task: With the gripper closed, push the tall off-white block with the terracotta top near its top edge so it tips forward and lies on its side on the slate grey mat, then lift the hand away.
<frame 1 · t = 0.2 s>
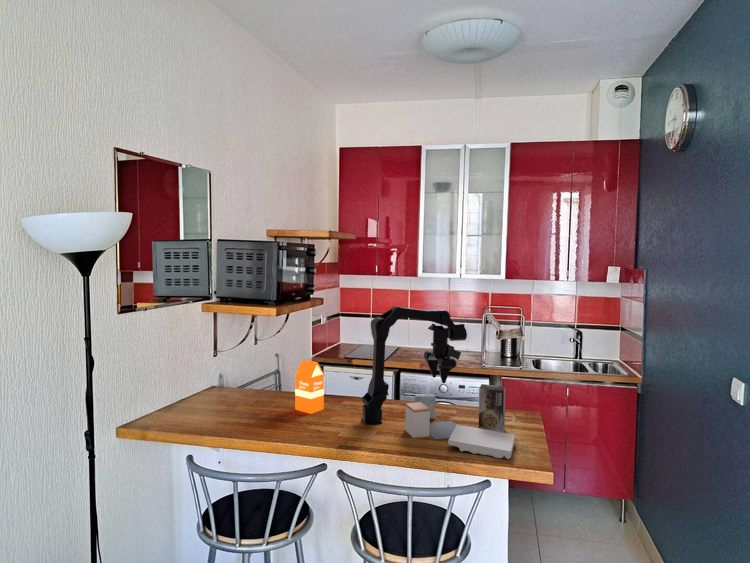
hand: (438, 380, 203), 14 cm above the table, tool pointing down, fingers open, 9 cm apart
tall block: (416, 433, 184), on the table
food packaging: (481, 447, 172), on the table, touching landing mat
medicine box: (424, 417, 202), on the table
coffee box: (491, 430, 189), on the table
orange juice: (309, 409, 209), on the table
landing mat: (443, 430, 187), on the table
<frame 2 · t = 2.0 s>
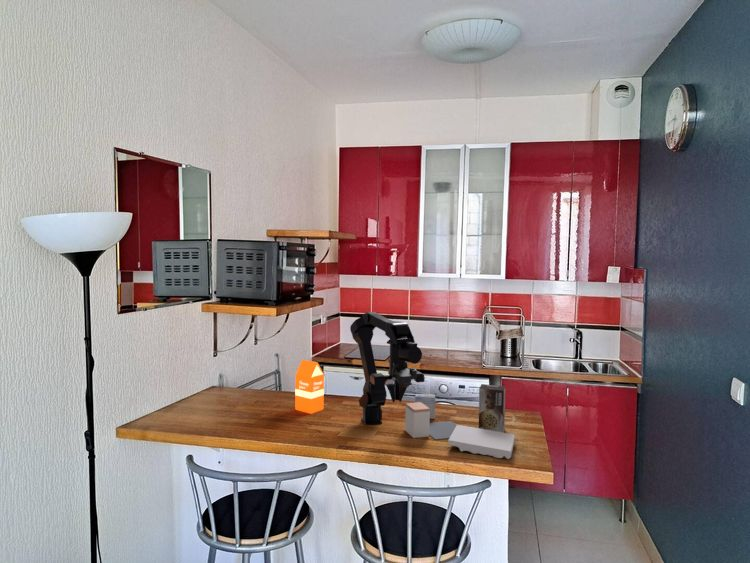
hand: (396, 401, 181), 12 cm above the table, tool pointing down, fingers closed
nothing on the table moved.
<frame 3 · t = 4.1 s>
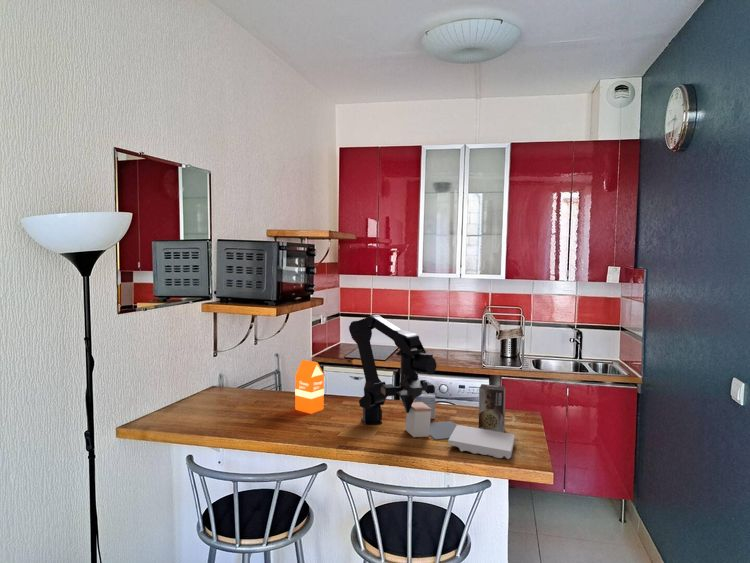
hand: (407, 412, 182), 8 cm above the table, tool pointing down, fingers closed
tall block: (417, 432, 184), on the table, touching gripper
everything else where it was.
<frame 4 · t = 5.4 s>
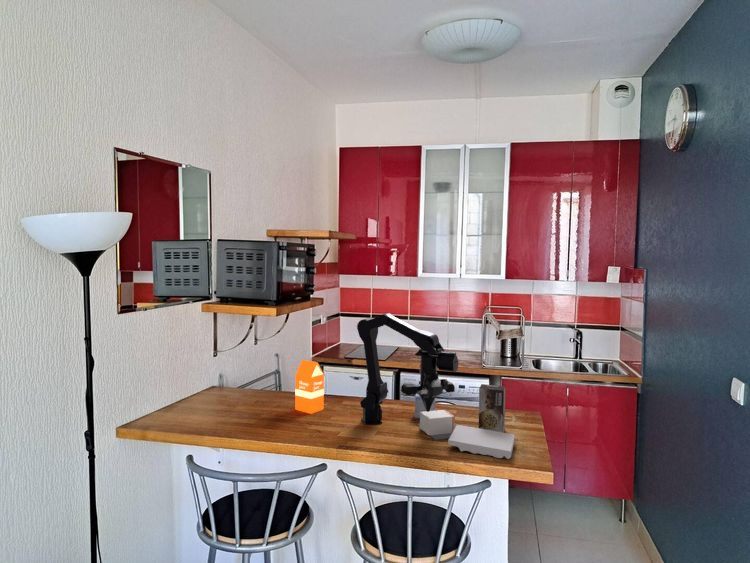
hand: (427, 411, 185), 8 cm above the table, tool pointing down, fingers closed
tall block: (424, 423, 185), point 3 cm above the table, tilted 90°, touching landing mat
everything else where it was.
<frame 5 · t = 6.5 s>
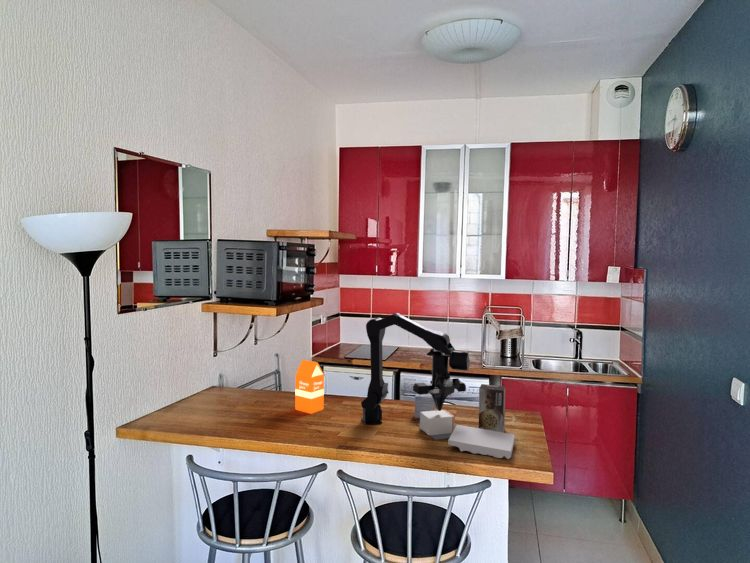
hand: (439, 410, 186), 8 cm above the table, tool pointing down, fingers closed
nothing on the table moved.
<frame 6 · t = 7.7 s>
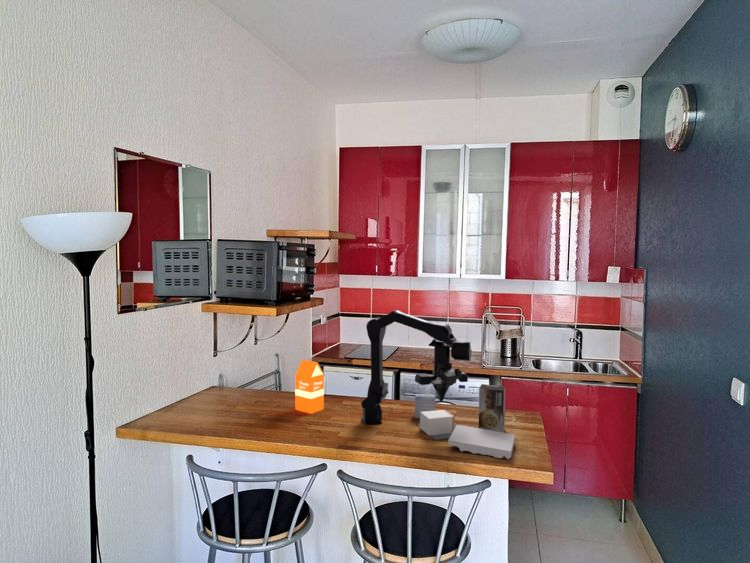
hand: (441, 401, 186), 11 cm above the table, tool pointing down, fingers closed
nothing on the table moved.
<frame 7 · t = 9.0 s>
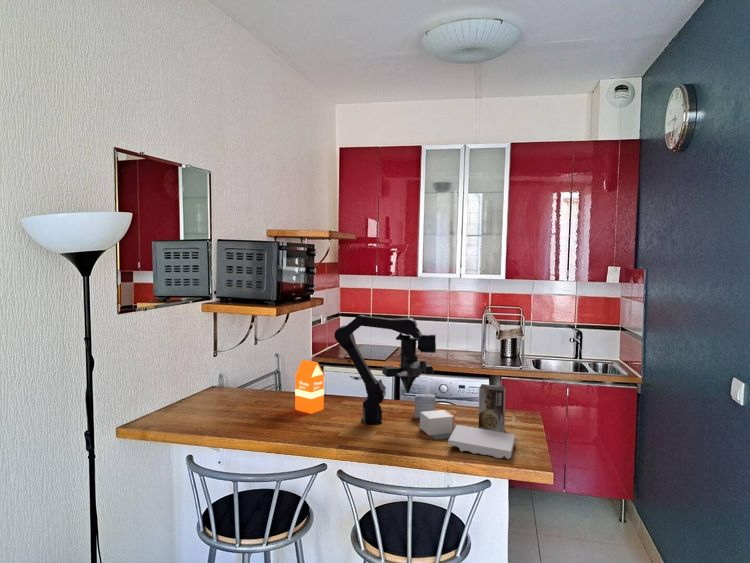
hand: (407, 392, 193), 12 cm above the table, tool pointing down, fingers closed
nothing on the table moved.
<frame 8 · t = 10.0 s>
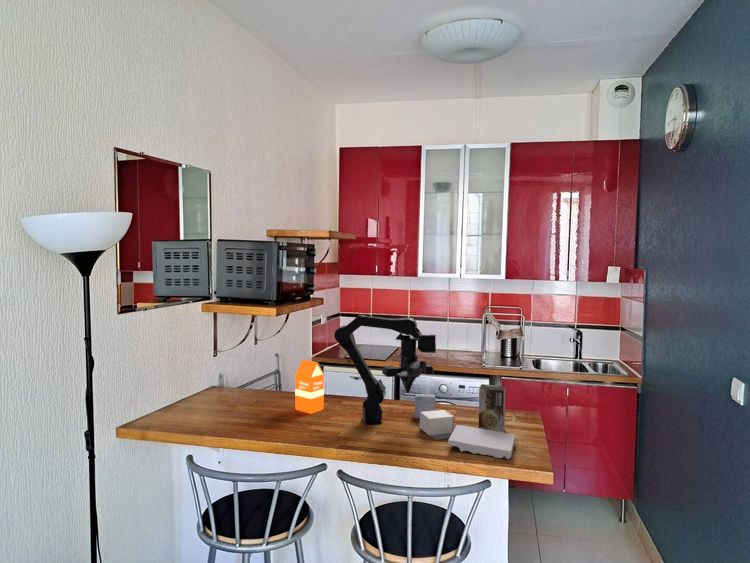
hand: (407, 392, 193), 12 cm above the table, tool pointing down, fingers closed
nothing on the table moved.
at the end: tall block tilted 90°; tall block inside the target area (3.2 cm from its centre), point 3.3 cm above the table; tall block touching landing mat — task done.
